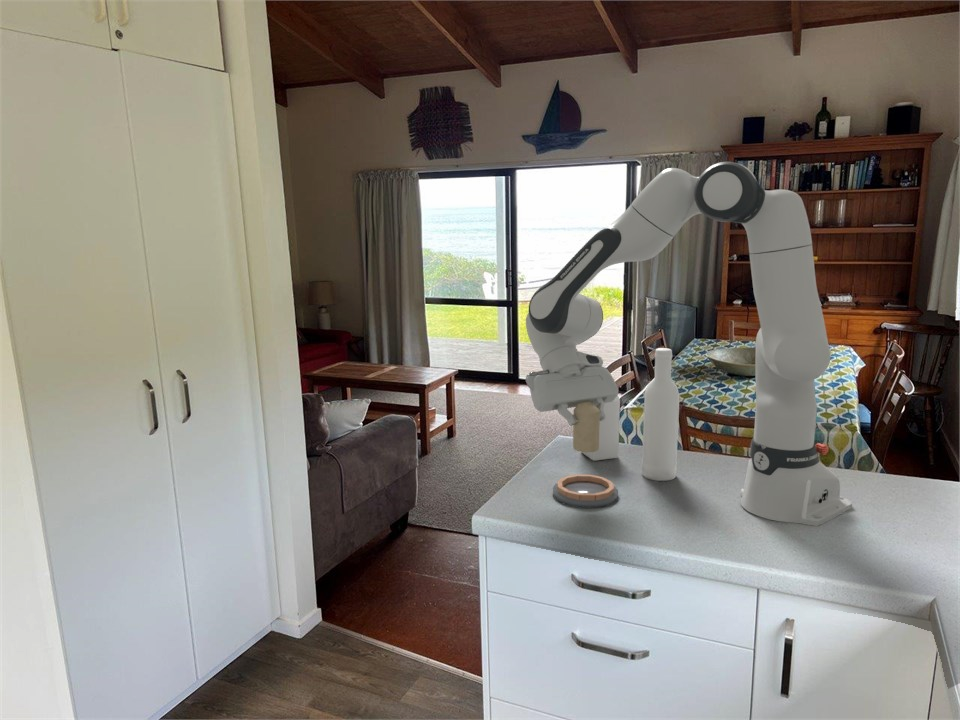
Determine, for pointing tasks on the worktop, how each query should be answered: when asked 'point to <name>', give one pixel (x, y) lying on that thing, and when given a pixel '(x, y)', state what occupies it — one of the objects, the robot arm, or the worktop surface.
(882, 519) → the worktop surface
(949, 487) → the worktop surface
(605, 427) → the milk carton
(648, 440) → the bottle
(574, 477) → the tray
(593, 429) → the candle
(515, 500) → the worktop surface
